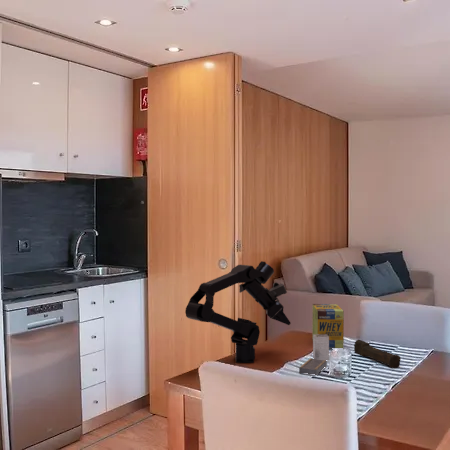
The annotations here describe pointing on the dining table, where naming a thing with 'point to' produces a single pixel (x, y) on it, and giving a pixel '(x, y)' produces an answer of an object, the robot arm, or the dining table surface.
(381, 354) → the dark brown rod
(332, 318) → the protein box
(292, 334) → the dining table surface
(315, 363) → the grey gold-striped flat block
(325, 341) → the pale upright block
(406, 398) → the dining table surface
